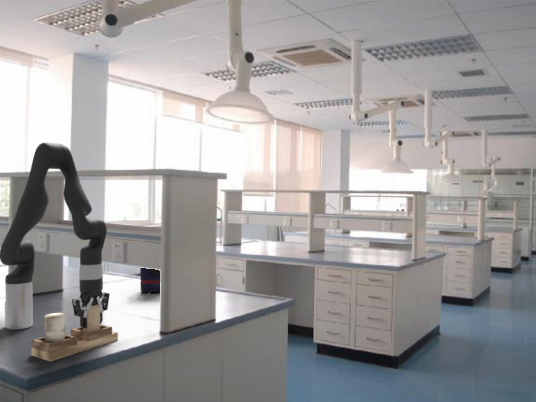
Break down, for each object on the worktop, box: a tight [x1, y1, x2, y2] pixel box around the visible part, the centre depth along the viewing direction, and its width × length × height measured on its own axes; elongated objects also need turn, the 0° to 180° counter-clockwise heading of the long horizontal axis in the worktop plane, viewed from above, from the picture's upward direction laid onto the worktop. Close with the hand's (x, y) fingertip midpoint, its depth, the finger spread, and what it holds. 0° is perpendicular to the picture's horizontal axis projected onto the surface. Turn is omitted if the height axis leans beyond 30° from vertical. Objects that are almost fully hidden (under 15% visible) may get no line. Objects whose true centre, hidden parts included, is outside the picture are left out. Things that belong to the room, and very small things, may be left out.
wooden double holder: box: [31, 312, 119, 362], centre depth 164 cm, size 10×26×12 cm, turn 148°
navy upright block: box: [139, 268, 161, 294], centre depth 254 cm, size 14×12×30 cm
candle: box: [83, 305, 100, 332], centre depth 170 cm, size 6×6×10 cm
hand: (91, 325), depth 170 cm, fingers closed on candle, 5 cm apart
